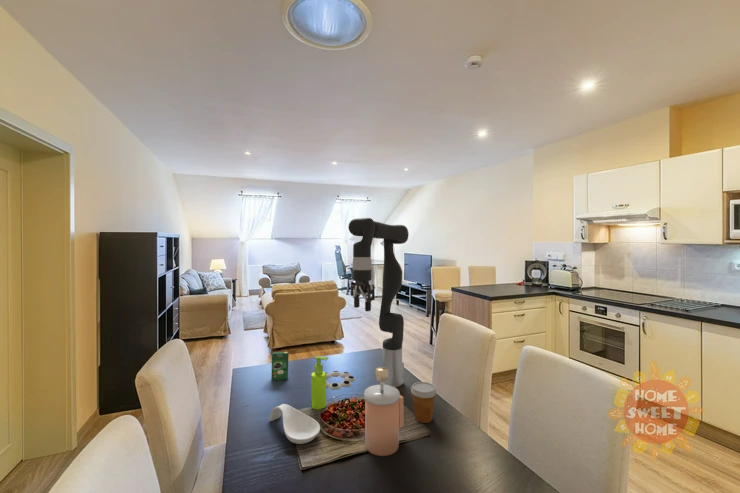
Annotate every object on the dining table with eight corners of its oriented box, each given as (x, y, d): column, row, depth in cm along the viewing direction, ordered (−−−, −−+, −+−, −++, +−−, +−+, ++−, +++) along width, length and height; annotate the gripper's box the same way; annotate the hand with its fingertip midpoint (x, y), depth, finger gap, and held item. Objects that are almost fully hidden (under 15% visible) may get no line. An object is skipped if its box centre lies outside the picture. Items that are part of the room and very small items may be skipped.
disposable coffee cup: (437, 414, 121) (437, 383, 121) (434, 427, 112) (434, 394, 112) (413, 409, 124) (413, 379, 124) (408, 422, 115) (408, 390, 115)
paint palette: (306, 382, 150) (306, 378, 150) (336, 369, 165) (336, 365, 165) (334, 395, 138) (334, 390, 138) (363, 380, 153) (363, 376, 152)
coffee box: (288, 377, 155) (288, 350, 155) (288, 379, 152) (288, 352, 152) (271, 378, 153) (271, 352, 153) (271, 381, 151) (271, 354, 151)
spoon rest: (327, 437, 107) (326, 417, 107) (298, 455, 98) (298, 432, 98) (287, 413, 123) (287, 395, 123) (259, 426, 114) (259, 406, 114)
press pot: (391, 427, 112) (391, 380, 112) (412, 445, 102) (412, 393, 102) (357, 441, 105) (357, 390, 104) (377, 461, 95) (377, 405, 95)
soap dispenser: (325, 410, 124) (325, 360, 124) (309, 408, 125) (308, 359, 125) (330, 403, 130) (330, 355, 130) (314, 401, 131) (314, 353, 131)
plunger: (383, 388, 106) (383, 366, 105) (390, 392, 102) (390, 370, 102) (373, 391, 103) (373, 368, 103) (380, 396, 100) (380, 373, 100)
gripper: (380, 269, 120) (380, 311, 120) (360, 266, 132) (360, 305, 132) (363, 270, 116) (363, 313, 116) (345, 267, 128) (345, 307, 128)
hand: (362, 309), depth 124 cm, fingers open, 8 cm apart
